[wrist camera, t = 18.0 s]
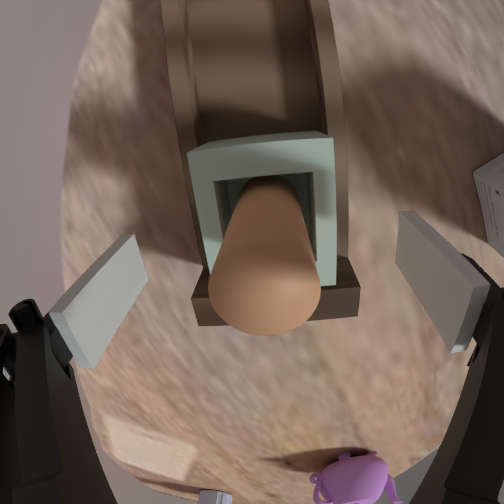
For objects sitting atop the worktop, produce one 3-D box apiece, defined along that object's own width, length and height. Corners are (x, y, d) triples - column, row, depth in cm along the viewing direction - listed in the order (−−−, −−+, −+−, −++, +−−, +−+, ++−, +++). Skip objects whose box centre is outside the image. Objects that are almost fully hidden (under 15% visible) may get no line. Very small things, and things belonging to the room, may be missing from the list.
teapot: (412, 442, 43) (424, 492, 32) (379, 469, 49) (385, 513, 38) (322, 446, 43) (325, 507, 31) (297, 471, 49) (297, 521, 38)
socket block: (209, 141, 21) (186, 152, 15) (316, 130, 20) (333, 137, 14) (227, 251, 24) (214, 293, 19) (322, 244, 24) (336, 284, 18)
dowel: (236, 176, 20) (198, 247, 10) (295, 170, 19) (320, 237, 9) (243, 230, 21) (218, 337, 12) (299, 226, 21) (320, 331, 11)
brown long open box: (174, -13, 16) (136, -51, 9) (309, -30, 15) (323, -78, 8) (217, 269, 27) (198, 325, 20) (337, 260, 26) (357, 316, 19)
